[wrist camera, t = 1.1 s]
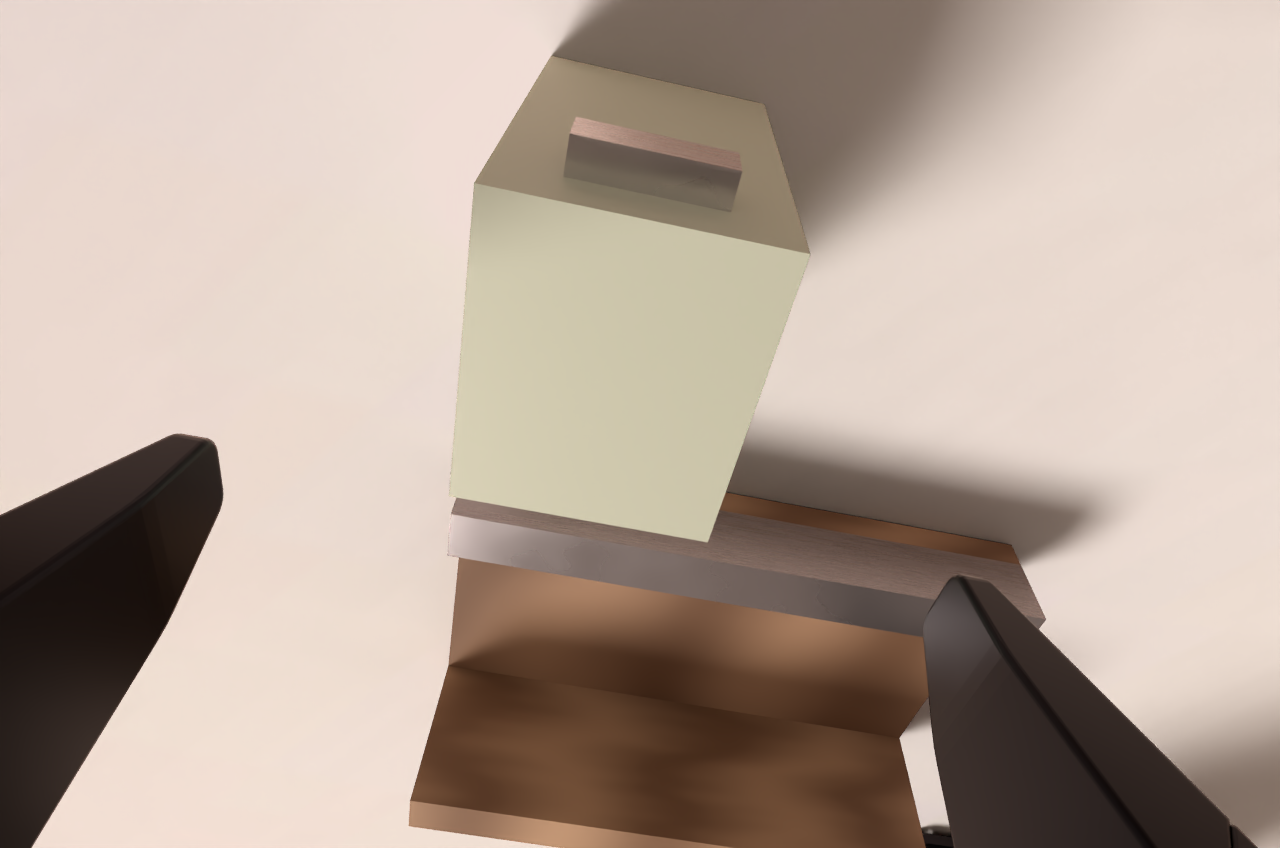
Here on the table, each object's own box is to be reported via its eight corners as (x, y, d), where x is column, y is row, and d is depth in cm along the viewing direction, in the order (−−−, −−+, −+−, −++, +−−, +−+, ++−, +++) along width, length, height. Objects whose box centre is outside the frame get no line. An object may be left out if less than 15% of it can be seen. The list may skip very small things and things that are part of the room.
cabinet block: (772, 73, 16) (826, 211, 10) (700, 328, 20) (707, 541, 14) (555, 23, 16) (477, 136, 10) (521, 292, 20) (448, 496, 13)
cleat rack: (1011, 545, 24) (1087, 707, 19) (878, 740, 30) (913, 898, 25) (474, 446, 22) (422, 596, 18) (451, 672, 28) (408, 826, 24)
